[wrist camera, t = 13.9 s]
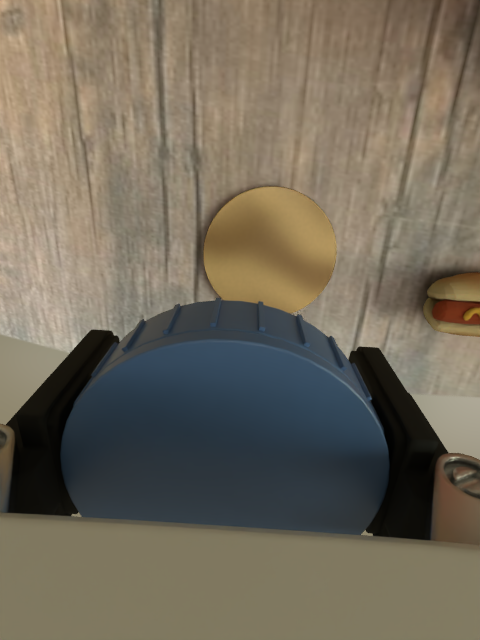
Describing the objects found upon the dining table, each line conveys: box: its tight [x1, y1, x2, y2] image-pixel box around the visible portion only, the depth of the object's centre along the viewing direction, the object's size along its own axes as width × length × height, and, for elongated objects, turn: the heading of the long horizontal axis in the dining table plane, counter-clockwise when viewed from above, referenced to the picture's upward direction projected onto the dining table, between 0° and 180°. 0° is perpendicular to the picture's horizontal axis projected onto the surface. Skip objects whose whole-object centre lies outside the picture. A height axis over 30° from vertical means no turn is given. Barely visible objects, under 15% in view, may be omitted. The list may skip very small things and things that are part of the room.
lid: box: [60, 298, 390, 535], centre depth 9 cm, size 7×7×2 cm
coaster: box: [203, 186, 337, 314], centre depth 31 cm, size 11×11×1 cm
